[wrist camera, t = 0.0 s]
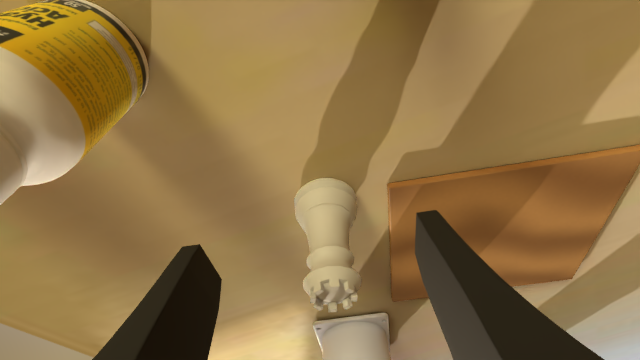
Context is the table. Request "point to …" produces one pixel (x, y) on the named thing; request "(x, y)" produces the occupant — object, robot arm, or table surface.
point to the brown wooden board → (513, 215)
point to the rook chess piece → (328, 242)
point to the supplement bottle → (61, 86)
